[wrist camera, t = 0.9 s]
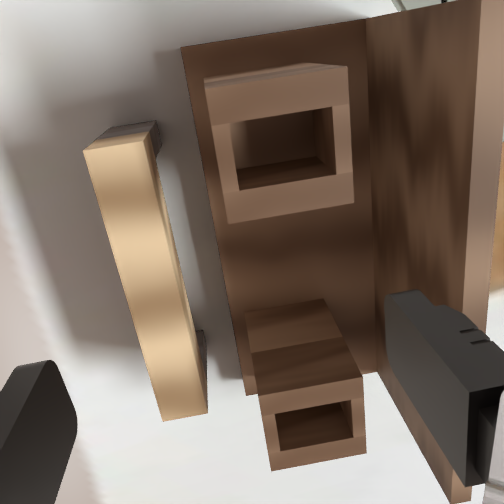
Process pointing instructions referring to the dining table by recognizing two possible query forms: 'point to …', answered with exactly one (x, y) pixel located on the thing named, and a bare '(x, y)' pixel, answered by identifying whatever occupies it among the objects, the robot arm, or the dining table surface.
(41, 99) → the dining table surface
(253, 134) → the wooden pen holder stand
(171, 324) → the oak rail
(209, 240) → the dining table surface
